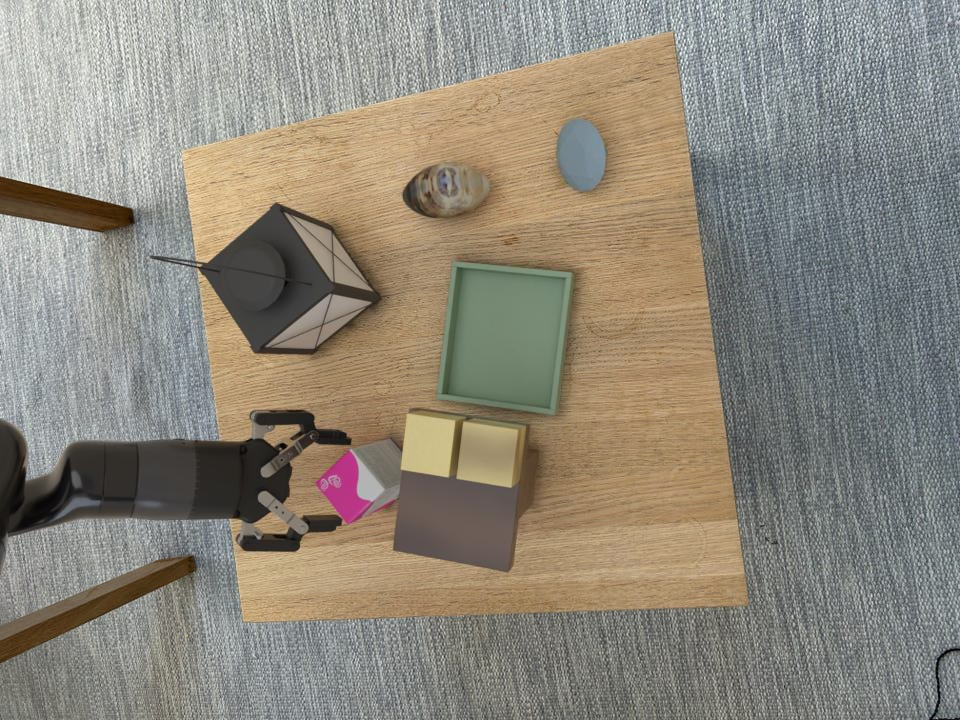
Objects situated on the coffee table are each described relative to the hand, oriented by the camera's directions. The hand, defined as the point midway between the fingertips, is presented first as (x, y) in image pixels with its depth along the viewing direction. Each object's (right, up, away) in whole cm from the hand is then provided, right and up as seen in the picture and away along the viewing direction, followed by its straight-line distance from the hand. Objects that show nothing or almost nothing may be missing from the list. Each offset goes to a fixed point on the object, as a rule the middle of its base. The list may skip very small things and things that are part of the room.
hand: (344, 480), depth 81 cm
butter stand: (+18, +2, +4) cm, 18 cm away
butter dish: (+17, +15, +4) cm, 24 cm away
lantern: (-4, +21, +10) cm, 24 cm away
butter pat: (+11, +6, -18) cm, 22 cm away
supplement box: (+4, 0, +8) cm, 9 cm away
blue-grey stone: (+26, +34, +3) cm, 43 cm away
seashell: (+12, +31, +6) cm, 34 cm away
